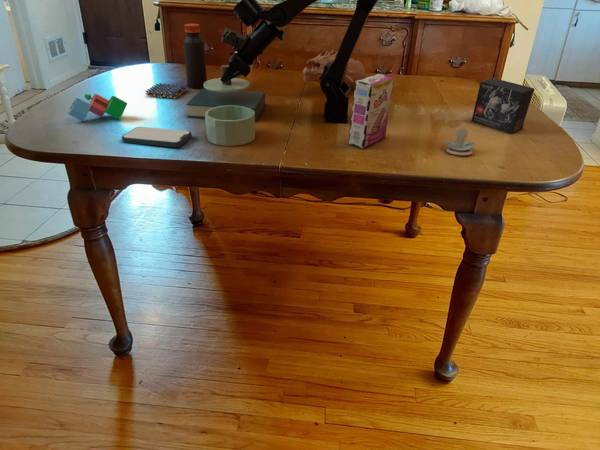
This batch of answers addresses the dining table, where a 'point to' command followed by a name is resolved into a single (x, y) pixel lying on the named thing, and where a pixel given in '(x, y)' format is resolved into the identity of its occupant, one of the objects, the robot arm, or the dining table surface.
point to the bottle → (194, 57)
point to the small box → (502, 105)
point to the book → (225, 101)
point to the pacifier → (460, 143)
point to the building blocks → (97, 107)
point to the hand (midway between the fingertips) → (221, 79)
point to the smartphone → (157, 136)
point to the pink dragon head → (318, 63)
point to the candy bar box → (370, 110)
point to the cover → (226, 83)
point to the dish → (230, 125)
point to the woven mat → (166, 90)
